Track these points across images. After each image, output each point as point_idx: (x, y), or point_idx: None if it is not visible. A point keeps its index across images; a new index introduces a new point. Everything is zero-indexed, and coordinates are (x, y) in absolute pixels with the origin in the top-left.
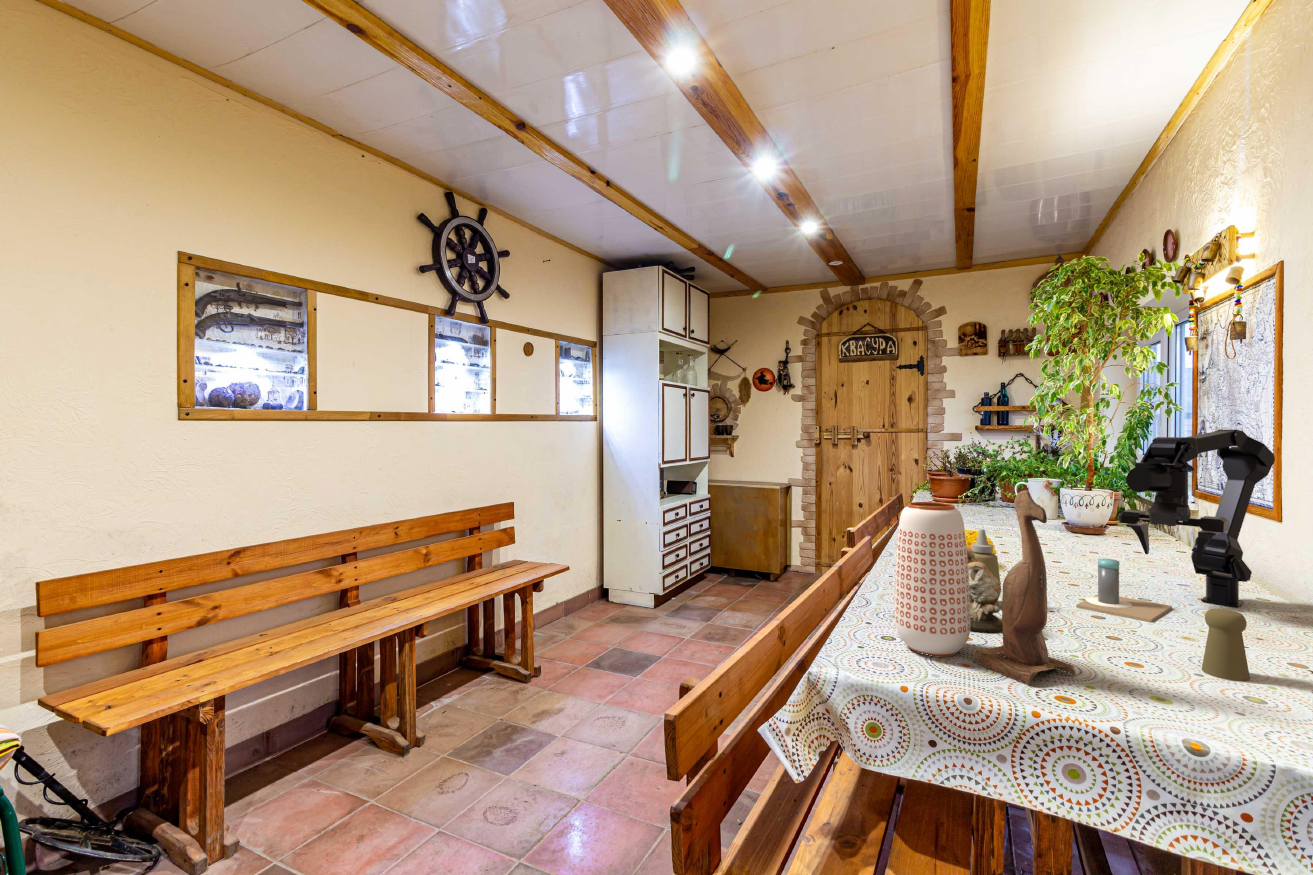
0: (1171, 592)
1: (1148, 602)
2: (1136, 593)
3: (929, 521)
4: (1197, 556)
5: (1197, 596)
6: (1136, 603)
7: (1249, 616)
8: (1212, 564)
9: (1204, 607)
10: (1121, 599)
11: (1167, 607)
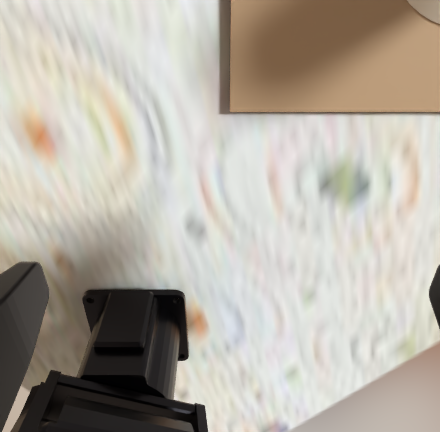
0: (281, 342)
1: (321, 93)
2: (377, 256)
3: None
4: (2, 282)
5: (212, 345)
6: (367, 15)
7: (12, 207)
8: (107, 425)
9: (152, 223)
10: (438, 48)
11: (237, 58)
